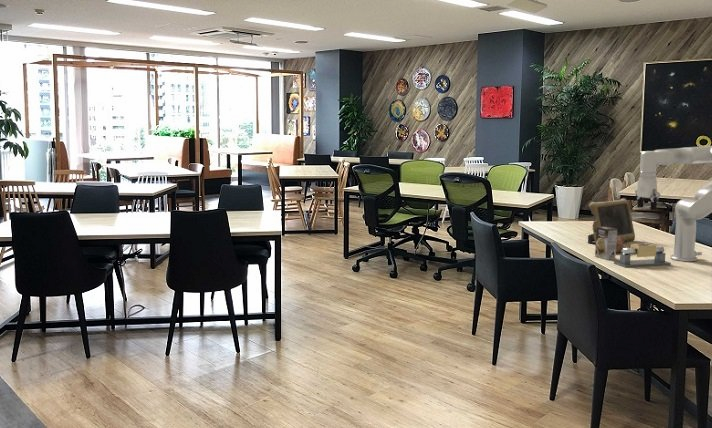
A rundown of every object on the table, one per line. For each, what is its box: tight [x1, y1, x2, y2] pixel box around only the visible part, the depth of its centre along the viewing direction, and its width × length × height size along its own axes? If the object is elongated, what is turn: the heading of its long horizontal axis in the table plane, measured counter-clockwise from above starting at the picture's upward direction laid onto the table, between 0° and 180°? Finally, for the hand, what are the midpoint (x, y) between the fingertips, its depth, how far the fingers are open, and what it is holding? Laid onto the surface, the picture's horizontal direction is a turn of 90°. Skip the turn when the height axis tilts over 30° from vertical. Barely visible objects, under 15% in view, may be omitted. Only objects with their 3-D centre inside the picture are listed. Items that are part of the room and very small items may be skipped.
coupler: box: [629, 242, 657, 258], centre depth 330 cm, size 10×6×6 cm, turn 103°
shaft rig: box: [613, 246, 672, 268], centre depth 330 cm, size 26×9×8 cm, turn 103°
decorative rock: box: [616, 235, 625, 253], centre depth 362 cm, size 13×11×10 cm
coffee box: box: [594, 226, 618, 261], centre depth 345 cm, size 9×6×16 cm
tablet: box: [587, 198, 636, 245], centre depth 389 cm, size 33×14×25 cm, turn 127°
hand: (646, 208), depth 339 cm, fingers open, 9 cm apart
